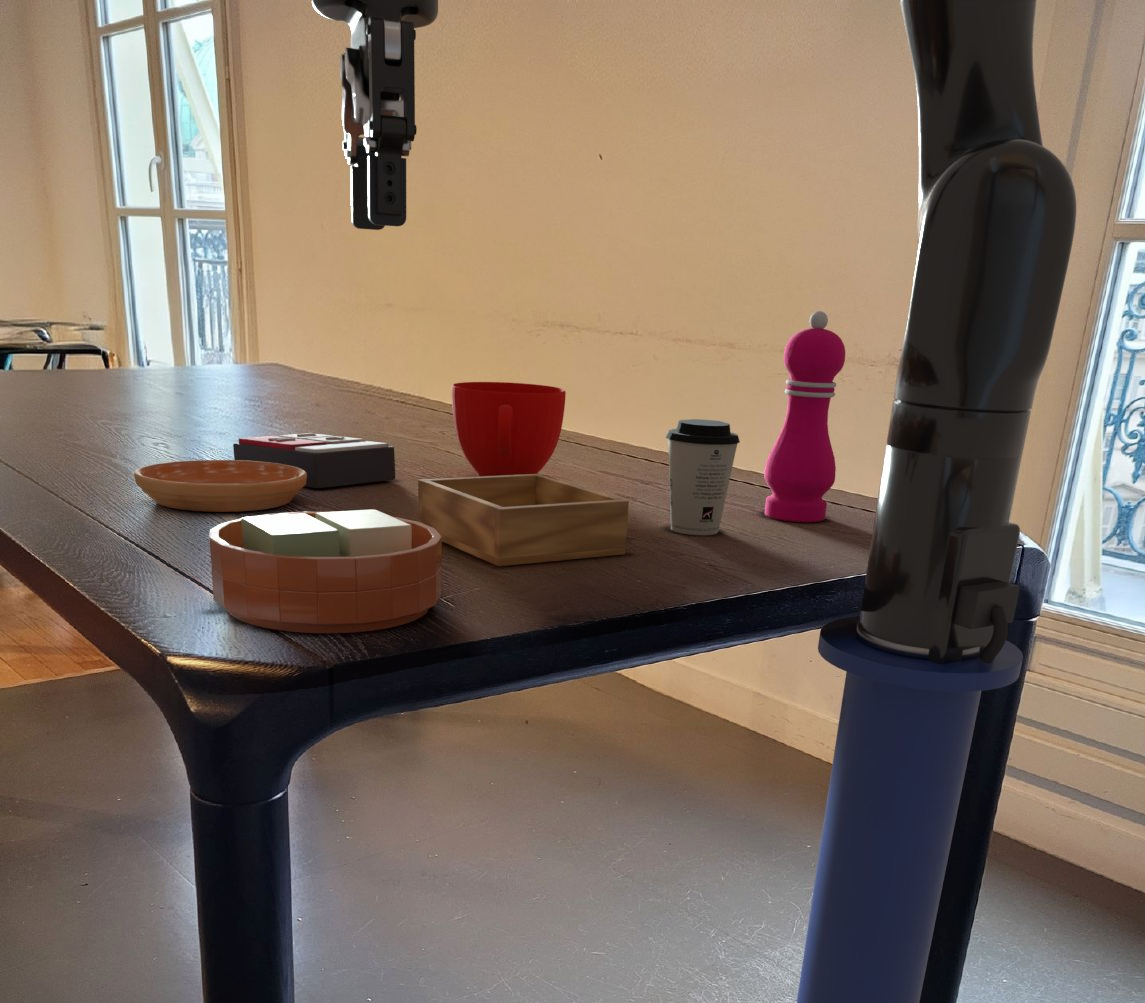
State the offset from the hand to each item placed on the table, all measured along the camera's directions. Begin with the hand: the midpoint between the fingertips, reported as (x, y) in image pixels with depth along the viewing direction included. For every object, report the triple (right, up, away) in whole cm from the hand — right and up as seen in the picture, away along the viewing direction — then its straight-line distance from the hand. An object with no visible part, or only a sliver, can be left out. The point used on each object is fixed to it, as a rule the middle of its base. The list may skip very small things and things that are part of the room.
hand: (377, 227), depth 73 cm
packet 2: (-2, -22, +7) cm, 23 cm away
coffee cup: (+24, -12, +37) cm, 46 cm away
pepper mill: (+36, -9, +46) cm, 59 cm away
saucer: (-21, -9, +38) cm, 45 cm away
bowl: (-4, -23, +6) cm, 24 cm away
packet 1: (-6, -23, +4) cm, 24 cm away
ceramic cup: (+5, -2, +59) cm, 59 cm away
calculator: (-16, -2, +54) cm, 57 cm away
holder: (+8, -15, +28) cm, 32 cm away
